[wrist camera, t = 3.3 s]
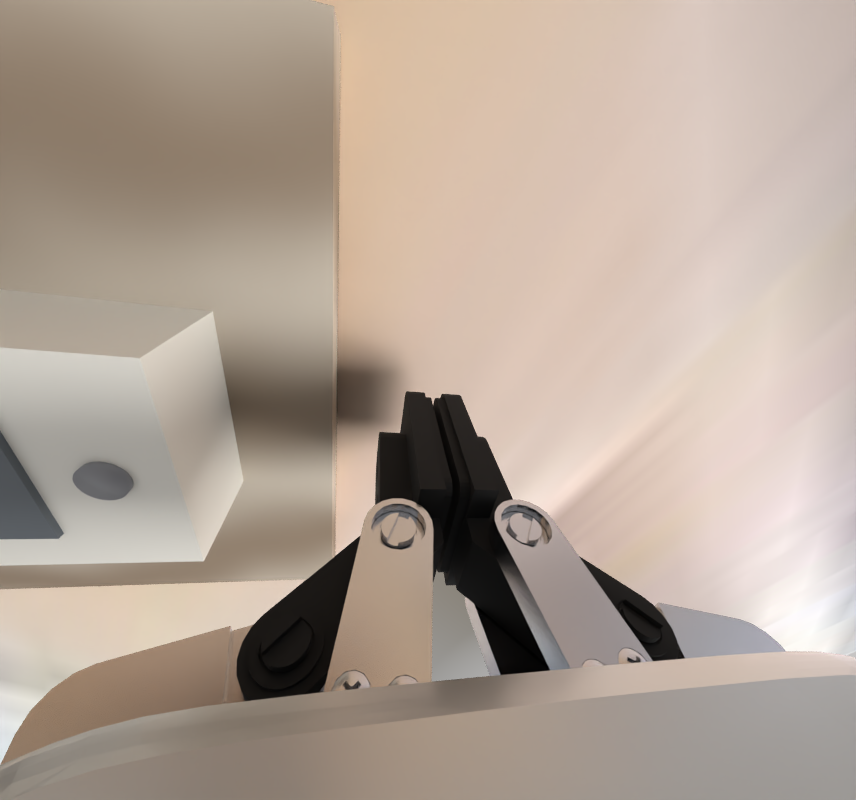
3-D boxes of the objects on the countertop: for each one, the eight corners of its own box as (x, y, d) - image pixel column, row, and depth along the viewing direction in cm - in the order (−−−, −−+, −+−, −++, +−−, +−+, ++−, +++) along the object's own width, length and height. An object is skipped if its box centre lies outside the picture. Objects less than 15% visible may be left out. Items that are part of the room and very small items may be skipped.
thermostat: (-81, 280, 7) (-345, 325, 5) (212, 311, 8) (133, 362, 6) (38, 477, 10) (-82, 573, 8) (243, 480, 11) (201, 566, 9)
